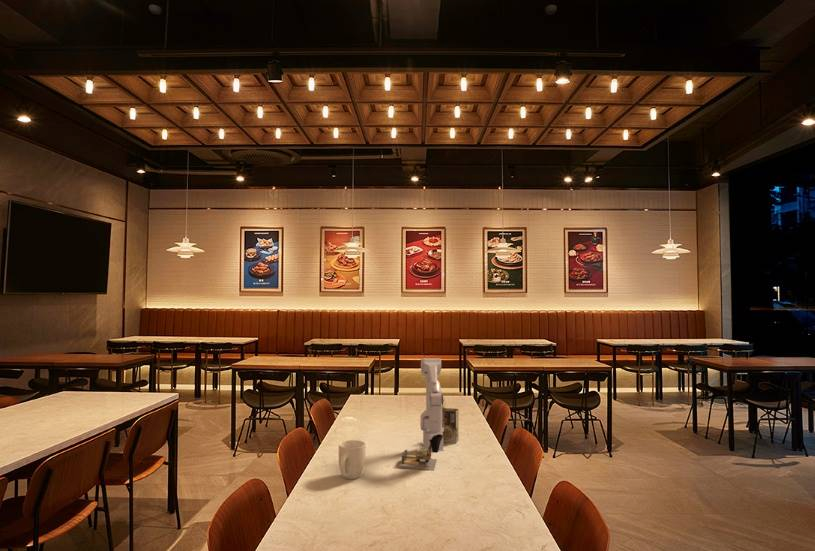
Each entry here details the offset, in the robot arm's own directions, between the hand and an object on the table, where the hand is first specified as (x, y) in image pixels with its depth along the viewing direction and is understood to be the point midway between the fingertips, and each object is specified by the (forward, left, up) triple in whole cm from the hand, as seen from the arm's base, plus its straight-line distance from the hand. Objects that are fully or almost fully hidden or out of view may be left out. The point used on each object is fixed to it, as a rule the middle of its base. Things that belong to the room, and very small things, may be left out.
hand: (435, 452), depth 197 cm
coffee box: (-22, -30, -6) cm, 37 cm away
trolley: (+5, -3, -4) cm, 7 cm away
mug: (+38, +1, -6) cm, 39 cm away
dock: (+6, -4, -6) cm, 9 cm away
